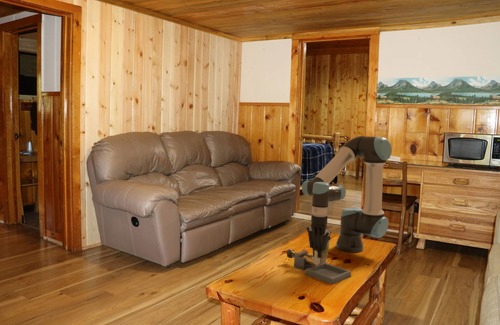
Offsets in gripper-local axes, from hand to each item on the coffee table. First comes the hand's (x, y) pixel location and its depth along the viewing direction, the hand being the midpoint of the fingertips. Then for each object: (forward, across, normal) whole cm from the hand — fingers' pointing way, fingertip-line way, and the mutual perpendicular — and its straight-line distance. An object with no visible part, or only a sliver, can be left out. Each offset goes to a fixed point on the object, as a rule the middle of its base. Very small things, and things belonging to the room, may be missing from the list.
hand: (316, 263), depth 194 cm
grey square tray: (+4, +6, +1) cm, 7 cm away
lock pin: (+2, -9, 0) cm, 9 cm away
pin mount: (+4, -8, 0) cm, 9 cm away
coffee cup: (+4, -7, +12) cm, 14 cm away
